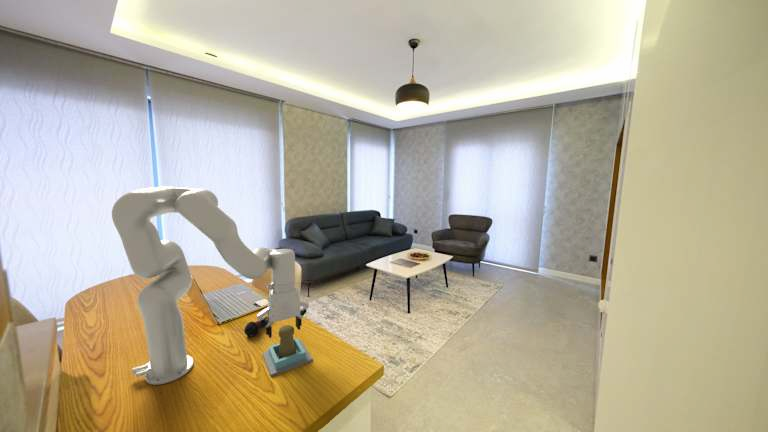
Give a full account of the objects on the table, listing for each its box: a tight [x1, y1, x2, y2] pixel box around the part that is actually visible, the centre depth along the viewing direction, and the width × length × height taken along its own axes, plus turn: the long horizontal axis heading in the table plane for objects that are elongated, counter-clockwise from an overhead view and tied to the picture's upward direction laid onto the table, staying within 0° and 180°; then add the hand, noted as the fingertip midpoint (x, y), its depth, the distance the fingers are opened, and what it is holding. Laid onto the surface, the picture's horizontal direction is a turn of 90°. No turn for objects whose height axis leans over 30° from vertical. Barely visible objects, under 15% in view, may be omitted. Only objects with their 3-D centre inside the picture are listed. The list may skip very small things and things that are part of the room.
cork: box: [278, 324, 296, 359], centre depth 98 cm, size 6×6×11 cm
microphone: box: [243, 315, 268, 337], centre depth 119 cm, size 6×6×20 cm
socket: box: [262, 337, 314, 378], centre depth 99 cm, size 14×13×3 cm
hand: (284, 331), depth 97 cm, fingers open, 9 cm apart
